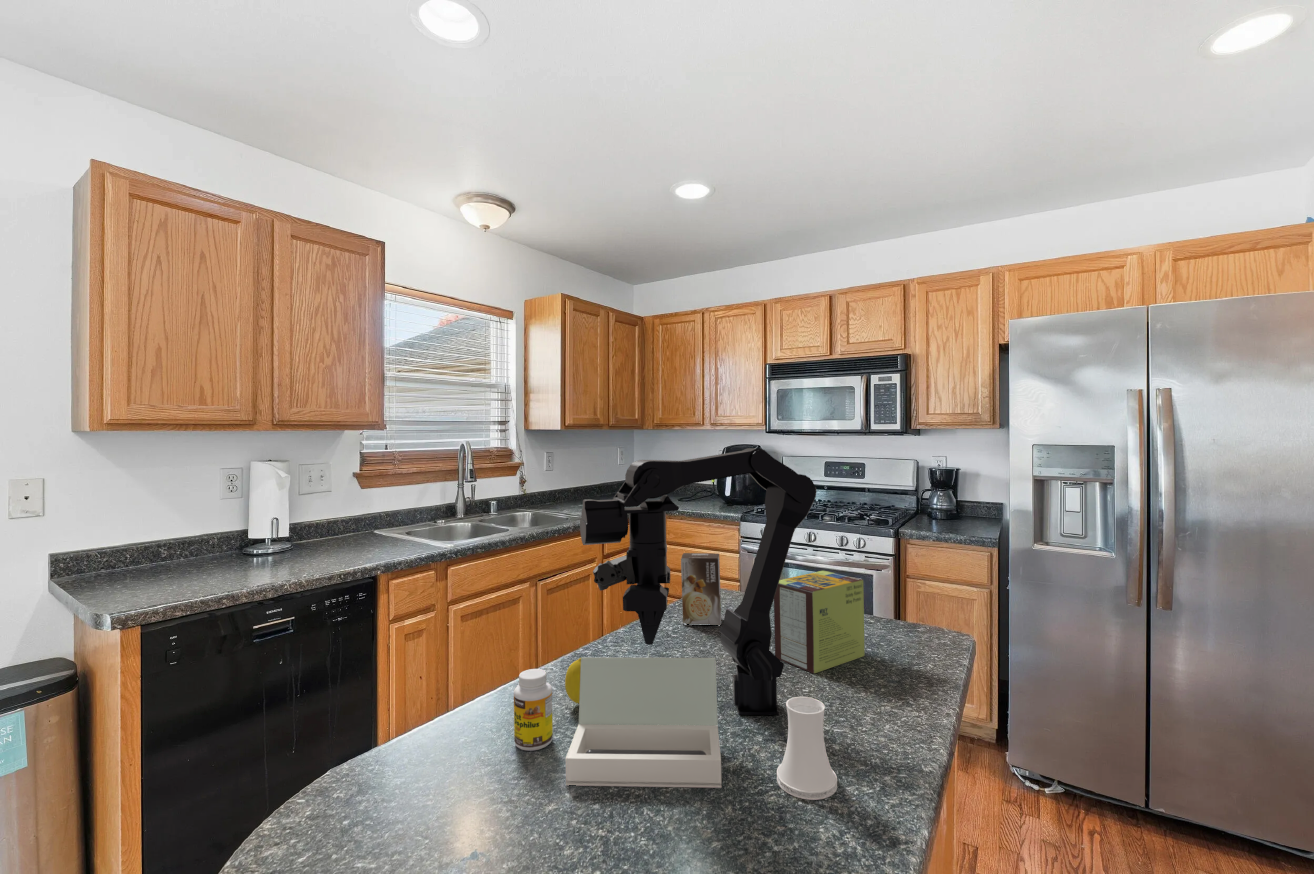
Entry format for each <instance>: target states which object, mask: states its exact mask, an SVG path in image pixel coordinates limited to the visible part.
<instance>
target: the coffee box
mask: <svg viewBox="0 0 1314 874" xmlns="http://www.w3.org/2000/svg"><path fill="white" fill-rule="evenodd" d="M720 567H721V566H720V553H712V552H711V553H707V552H706V553H705V552H704V553H703V552H702V553H701V552H684V553H683V554H682V555H681V558H680V573H681V607H682V608H681V609H682V624H683V623H686V624H710V625H721V624H722V621H721V620H722V601H721V600H722V599H721V598H722V597H721V593H722V592H721V572H720V571H721V570H720ZM721 626H722V625H721Z"/></svg>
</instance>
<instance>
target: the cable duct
mask: <svg viewBox="0 0 1314 874" xmlns="http://www.w3.org/2000/svg"><path fill="white" fill-rule="evenodd" d="M718 725H719V724H718ZM718 725H619V724H579V723H578V724H577V728H576V730H575V732H574V735H573V737H572V741H571V744H570V746H569V748H568V751H567V753H566V756H565V786H569V785H576V787H580V786H581V787H583V786H584V787H585V786H586V787H588V786H589V787H639V788H640V787H643V788H645V787H652V788H666V787H667V788H712V789H713V788H719V789H720V788H722V755H721V746H720V737H719V736H720V735H719V734H720V733H719V726H718Z"/></svg>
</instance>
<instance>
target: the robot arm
mask: <svg viewBox="0 0 1314 874" xmlns="http://www.w3.org/2000/svg"><path fill="white" fill-rule="evenodd" d="M743 475H750V476H751V478H752V479H753V480H754V481H755V482H756V483H757V484H758V485H759V486H760V487H761V488H762V489H764V490H766V492H765V499H764V508H765V509H764V510H765V517H766V521H765V525H764V529H763V532H762V535H761V539H760V542H759V546H758V548H757V551H756V554H755V558H754V561H753V565H752V568H751V571H750V574H749V578H748V582H747V585H746V588H745V591H744V594H743V597H742V600H741V602H740V604H739V605H738V606H737V607H736V608H735V609H734V610H731V609H729V608H727V609H726V610H725V611H724V612H725V613H724V616H723V617H724V618H723V622H722V625H721V626H720V628H719V629H718V632H719V633H721V635H720V644H721V646H722V647H723V650H724V651H725V652H727V654H728V655H729V656H730V657H731V659H732V662H734V663H736V668H735V669H736V674H733V676H732V691H733V692H732V693H733V694H732V697H733V698H732V699H733V703H734V706H735V707H737V708H736V709H737V714H738V715H741V716H742V715H745V716H779V715H780V710H779V705H778V693H777V691H778V690H777V689H778V688H777V687H778V683H777V680H778V678H781V676H782V673H783V669H784V666H785V664H784V663H783V661H782V660H779V659H778V658H777V657H776V656H775V653H773V652H771V651H770V649H771V641H772V627H771V625H772V624H771V615H770V614H771V609H772V606H773V604H774V597H775V593H776V590H777V587H778V583H779V580H781V577H782V573H783V569H784V566H785V563H786V560H787V557H788V553H789V549H790V546H791V543H792V539H793V536H794V534H795V530H796V529H797V528H798V527H799V525H800V524H801V523H802V522H803V521H804V520H805V519H806V517H807V516H808V514H809V513H810V511H811V509H812V506H813V504H814V502H815V500H816V498H817V492H818V491H817V487H816V485H815V484H814V481H813V480H812V479H811V478H810V477H809V476H807V475H805V474H801V473H797V472H796V471H795V470H794V469H792V468H791V467H789V466H787V465H785V463H783V462H781V461H779V460H777V459H776V458H774V457H773V456H772V455H771V454H770V453H768V452H767V451H766V450H765V449H763V448H756V447H755V448H750V447H749V448H745V449H742V450H738V451H732V452H726V453H721V454H719V453H718V454H715V455H709V456H703V457H702V456H700V457H694V458H688V459H683V460H667V459H664V460H663V459H639V460H636V461H633V462H631V463H630V465H629V467H628V468H627V470H626V473H625V480H624V482H623V483H622V485H621V487H620V488H619V489H618V490H617V492H616V493H615V495H614V496H613V498H612V499H599V500H597V499H591V498H590V499H583V500H582V508H581V515H580V516H581V517H580V519H579V531H580V538H581V543H582V545H583V546H587V545H602V544H619V543H621V541H622V540H623V539H625V538H626V537H627V535H628V533H629V546H628V550H627V551H626V554H625V555H622V556H619V557H617V558H616V557H615V558H614V559H612V560H606V561H605V562H604V563H601V562H600V563H598V565H597V566H595V568H594V569H593V571H592V574H593V576H594V578H593V579H594V580H593V581H594V583H595V584H596V585H597V586H598V589H599V591H605V590H607V589H609V587H612V586H614V585H618V584H619V583H623V582H625V581H626V585H630V586H628V588H627V589H626V590H625V591H624V593H623V596H622V610H623V611H625V612H635V613H636V614H637V615H638V616H637V617H638V620H639V624H640V628H641V632H642V636H643V640H644V643H645V645H647V646H649V645H650V646H653V644H654V641H655V639H656V636H657V633H658V630H659V628H660V625H661V622H662V619H663V617H664V614H665V612H666V611H667V610H668V602H669V601H668V596H669V593H670V588H669V587H666V586H663V584H670V583H671V568H670V567H669V566H668V565H667V562H668V561H667V559H668V558H667V557H668V556H667V552H668V544H667V519H666V517H667V516H666V515H667V513H666V512H677V511H679V510H680V507H679V505H677V504H675V502H674V501H673V500H672V499H671V497H670V496H669V494H671V493H673V492H676V491H678V490H680V489H682V488H683V487H685V486H689V485H691V484H696V483H697V484H698V483H702V482H708V481H714V480H718V479H719V480H720V479H724V478H731V477H737V476H743ZM657 498H659V499H657ZM649 499H655V500H649ZM656 499H657V500H656Z"/></svg>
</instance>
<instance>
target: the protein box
mask: <svg viewBox="0 0 1314 874" xmlns="http://www.w3.org/2000/svg"><path fill="white" fill-rule="evenodd" d="M864 593H865V592H864V579H863V578H858V577H853V576H848V575H844V574H840V573H836V572H832V571H827V570H819V571H816V572H811V573H807V574H806V573H805V574H801V575H796V576H792V577H788V578H783V579H780V580H779V583H778V587H777V590H776V593H775V597H774V600H773V611H774V612H773V616H774V617H773V619H774V622H773V623H774V625H773V628H774V629H773V630H774V655H775V656H776V657H777V658H778V659H779V660H780V661H781V662H785V663H787V664H789V665H792V666H794V667H796V668H799V669H801V670H804V671H806V672H809V673H811V674H814V675H815V674H817V673H820V672H824V671H826V670H828V669H831V668H833V667H838V666H840V665H843V664H846V663H849V662H851V661H854V660H857V659H860V658H862V657H865V656H866V655H865V654H866V653H865V607H864V606H865V605H864V603H865V601H864V599H865V597H864V595H865V594H864Z"/></svg>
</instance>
